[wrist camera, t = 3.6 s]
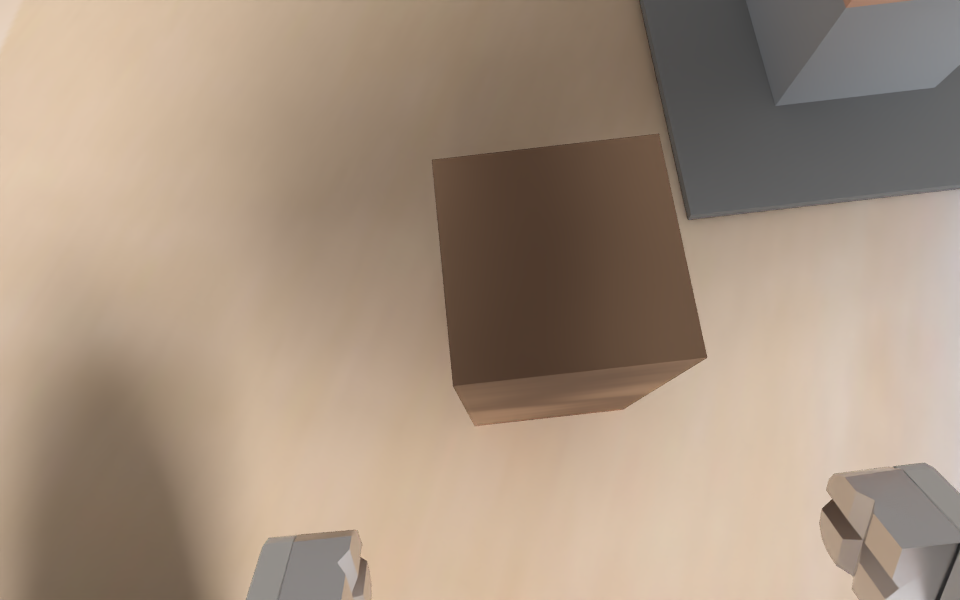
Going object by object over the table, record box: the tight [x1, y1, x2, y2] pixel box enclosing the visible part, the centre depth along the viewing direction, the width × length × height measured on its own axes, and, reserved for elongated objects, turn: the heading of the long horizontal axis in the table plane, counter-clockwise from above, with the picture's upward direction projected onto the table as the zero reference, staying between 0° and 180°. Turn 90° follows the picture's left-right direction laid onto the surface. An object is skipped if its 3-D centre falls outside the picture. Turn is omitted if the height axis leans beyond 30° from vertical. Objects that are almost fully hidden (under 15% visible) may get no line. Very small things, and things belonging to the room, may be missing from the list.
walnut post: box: [432, 134, 707, 426], centre depth 17 cm, size 5×5×9 cm
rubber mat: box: [640, 0, 960, 220], centre depth 24 cm, size 14×14×1 cm
